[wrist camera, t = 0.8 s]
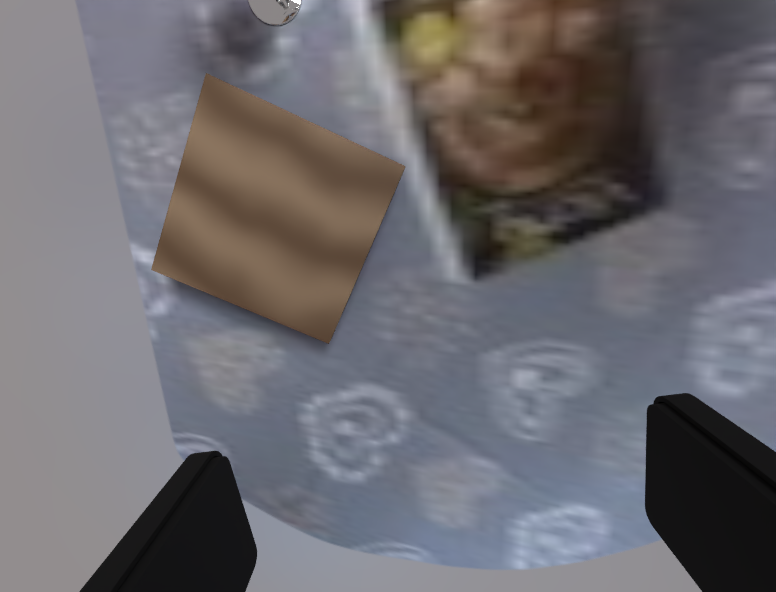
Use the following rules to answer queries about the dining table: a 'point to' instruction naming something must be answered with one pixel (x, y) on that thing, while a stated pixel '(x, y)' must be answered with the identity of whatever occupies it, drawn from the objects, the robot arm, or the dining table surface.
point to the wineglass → (275, 10)
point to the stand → (273, 210)
